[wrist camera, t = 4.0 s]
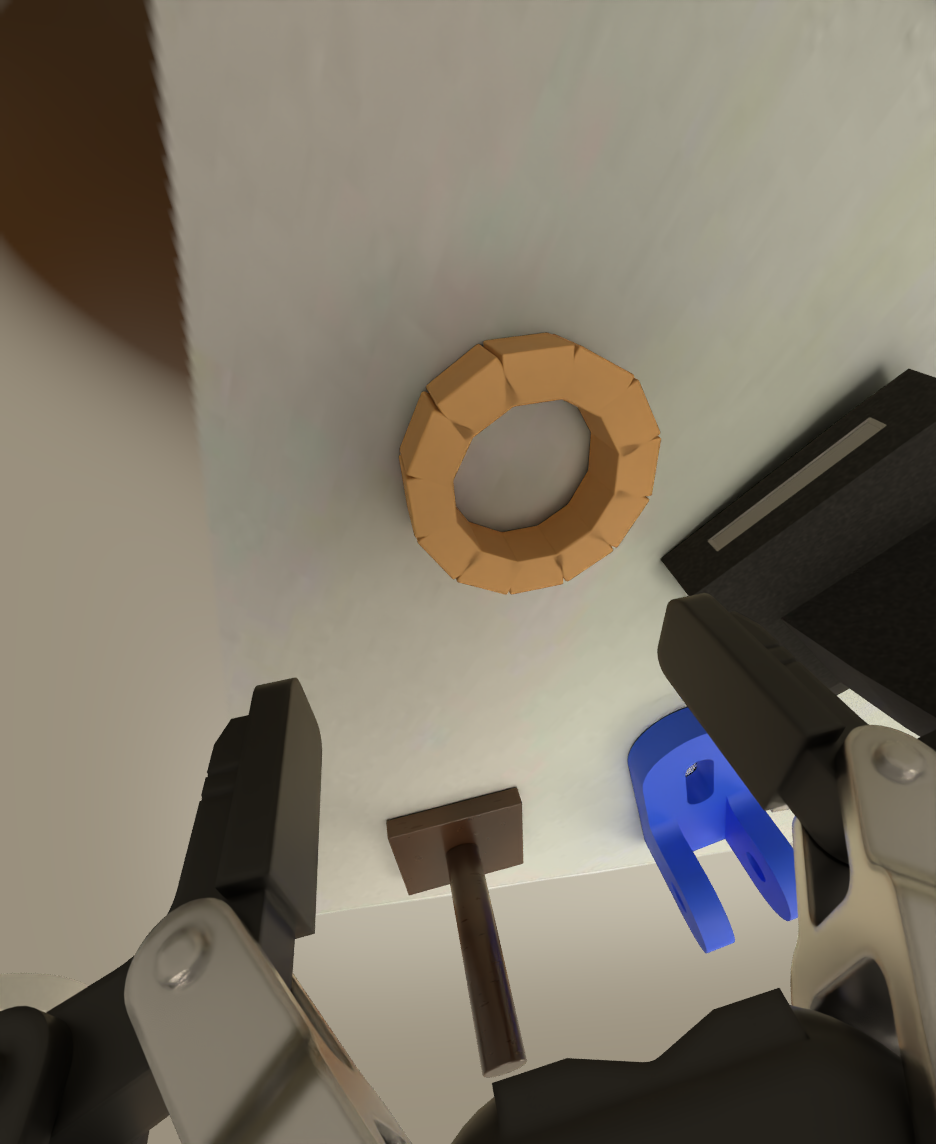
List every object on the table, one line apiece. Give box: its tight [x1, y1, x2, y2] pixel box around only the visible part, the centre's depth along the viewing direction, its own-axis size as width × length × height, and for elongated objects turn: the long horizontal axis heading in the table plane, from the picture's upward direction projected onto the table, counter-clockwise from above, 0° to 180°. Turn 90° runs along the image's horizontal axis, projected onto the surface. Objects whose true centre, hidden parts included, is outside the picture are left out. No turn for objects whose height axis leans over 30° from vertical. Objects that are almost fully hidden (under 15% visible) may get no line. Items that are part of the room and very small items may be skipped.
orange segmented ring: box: [399, 332, 661, 594], centre depth 18 cm, size 9×9×2 cm
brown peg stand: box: [387, 788, 527, 1078], centre depth 30 cm, size 9×9×12 cm
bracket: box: [628, 707, 798, 953], centre depth 33 cm, size 18×8×9 cm, turn 19°
